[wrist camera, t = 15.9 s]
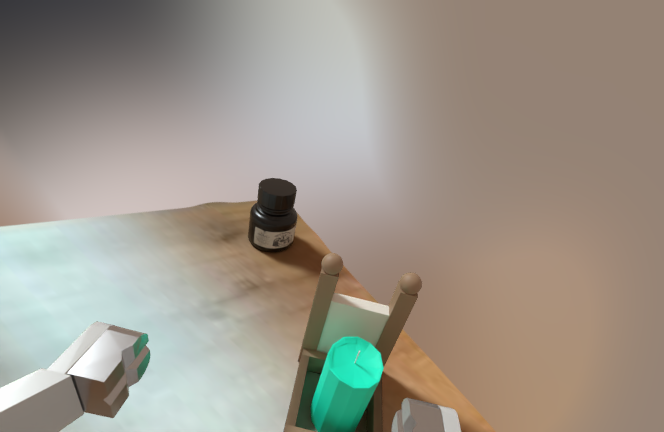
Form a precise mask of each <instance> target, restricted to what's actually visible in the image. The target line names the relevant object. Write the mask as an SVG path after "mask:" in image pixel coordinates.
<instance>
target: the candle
mask: <svg viewBox="0 0 664 432" xmlns="http://www.w3.org/2000/svg"><path fill="white" fill-rule="evenodd" d="M382 371H383V363H382V358H381V353H380V352H379V351H378V350H377V349H376V348H375V347H374V346H373V345H372V344H371V343H369V342H367V341H365V340H363V339H362V338H360V337H358V336H356V337H343V338H341V339H340V340H338V341H337V342H335V343H334V344H333V345H332V347H331V349H330V350H329V352H328V355H327V358H326V361H325V364H324V367H323V370H322V373H321V376H320V379H319V382H318V385H317V388H316V391H315V394H314V397H313V400H312V403H311V406H310V411H311V421H312V423H313V424H314V426H315V428H316V429H317V431H318V432H355V430H356V428H357V426H358V423H359V421H360V419H361V417H362V415H363V413H364V411H365V409H366V407H367V405H368V403H369V401H370V399H371V397H372V395H373V393H374V391H375V389H376V387H377V385H378V383H379V381H380V378H381V375H382Z"/></svg>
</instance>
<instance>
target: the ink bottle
mask: <svg viewBox="0 0 664 432" xmlns="http://www.w3.org/2000/svg"><path fill="white" fill-rule="evenodd" d="M296 191H297V190H296V186H294V185H293V184H292V183H290V182H288V181H286V180H282V179H275V178H270V179H265V180H263V181H261V182H260V183H259V190H258V200H257V201H258V202H257V203H256V204H254V205H253V207H252V208H251V212H250V221H249V232H248V238H249V241H250V242H251V244H252V245H253V246H255V247H256V248H258V249H260V250H262V251H267V252H278V251H282V250H285V249H287V248H289V247H290V246H291V245H292V243H293V239H294V233H295V228H296V223H297V213H296V211H295V209H294V208H293V206H294V202H295V197H296Z"/></svg>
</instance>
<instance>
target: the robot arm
mask: <svg viewBox="0 0 664 432" xmlns="http://www.w3.org/2000/svg"><path fill="white" fill-rule="evenodd" d="M148 341H149V340H148V335H147V334H145V333H141V332H137V331H133V330H129V329H125V328H121V327H117V326H115V325H111V324H106V323H102V322H98V321H97V322H95V323H93V324H92V325H90V326H89V327H88V328H87V329H86V330H85V331H84V332H83V333H82V334H81V335H80V336H79V337H78V338H77V339H76V340H75V341H74V342H73V343H72V344H71V345H70V346H69V347H68V348H67V349H66V350H65V351H64V352H63V353H62V354H61V355H60V356H59V357H58V358H57V359H56V361H55V362H54V363H53V364H52V365H51V366H50V367H49V368H48V369H43V368H41V369H39V370H37V371H35V372H33V373H31V374H29V375H27V376H24V377H22V378H20V379H18V380H16V381H14V382H12V383H10V384H8V385H6V386H4V387H2V388H0V432H59V431H60V430H62V429H63V428H65V427H66V426H67V425H69V424H70V423H72V422H73V421H75V420H76V419H77V418H79V417H80V416H82V415H83V414H84V412H86V413H91V414H96V415H100V416H105V417H110V418H114V417H115V415H116V414H117V412H118V411H119V409H120V408H121V406H122V405H123V404H124V402H125V401H126V399H127V398H128V396H129V387H130V386H132V385H133V384H135V383H137V382H138V381H139V380H140V378H141V377H142V375H143V374H144V372H145V370H146V368H147V366H148V363H149V360H150V350H149V349H148V348H147V346H146V344H147V342H148ZM391 432H461V428H460V423H459V418H458V414H457V412H456V411H455V410H454V409H452V408H448V407H443V406H439V405H437V404H432V403H428V402H423V401H419V400H414V399H410V398H405V399H404V400H403V402H402V409H401V410H398V411H397V412H396V414H395V416H394V419H393V423H392V431H391Z"/></svg>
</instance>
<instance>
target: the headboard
mask: <svg viewBox="0 0 664 432" xmlns="http://www.w3.org/2000/svg"><path fill="white" fill-rule="evenodd" d="M321 264H322V269H321V273H320V277H319V281H318V285H317V289H316V292H315V296H314V300H313V304H312V308H311V312H310V316H309V320H308V323H307V327H306V331H305V335H304V339H303V343H302V347H301V351H300V355H299V359H298V361H299V362H300V359H301V355H302V351H303V348H307V349H311V350H315V351H319V352H323V353H327V354H328V352H329V350H330V349H331V347H332V345H333V344H334V343H335V342H337V341H338V340H340V339H341V338H343V337H356V336H358V337H360V338H362V339H363V340H365V341H367V342H369V343H371V344H372V345H373V346H374V347H375V348H376V349H377V350H378V351H379V352H380V353H381V358H382V363H383V367H384V365H385V363H386V361H387V359H388V357H389V355H390V353H391V351H392V349H393V347H394V345H395V343H396V341H397V339H398V337H399V335H400V333H401V331H402V329H403V327H404V325H405V322H406V320H407V318H408V316H409V314H410V312H411V310H412V308H413V306H414V304H415V302H416V300H417V298H418V294H417V293H418V292H419V291H420V289H421V287H422V281H421V279H420V277H419V276H418V275H417V274H415V273H406V274H404V275H403V276H402V277H401V279H400V281H399V282H398V285H397V287H396V289H395V291H394V294H393V296H392V298H391V301H390V303H389V306H386V305H382V304H378V303H374V302H370V301H366V300H362V299H358V298H354V297H350V296H346V295H342V294H338V293H334V291H335V287H336V284H337V281H338V277H339V272H340V271H341V270H342V268H343V261H342V259H341V257H340V256H339V255H337V254H335V253H330V254H327V255H326V256H324V258H323V259H322V263H321Z"/></svg>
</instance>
